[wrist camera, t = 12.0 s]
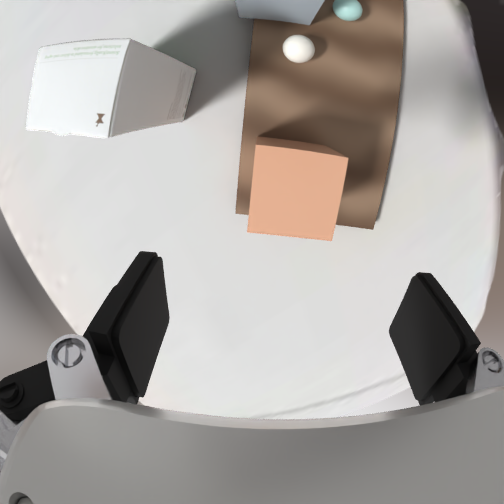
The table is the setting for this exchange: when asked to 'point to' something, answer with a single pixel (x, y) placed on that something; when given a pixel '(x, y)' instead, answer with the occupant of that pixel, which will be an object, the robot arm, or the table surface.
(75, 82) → the skincare box
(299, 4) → the pale blue cube
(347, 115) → the walnut board
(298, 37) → the marble ivory
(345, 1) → the marble teal
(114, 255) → the table surface
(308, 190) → the peach cube block
